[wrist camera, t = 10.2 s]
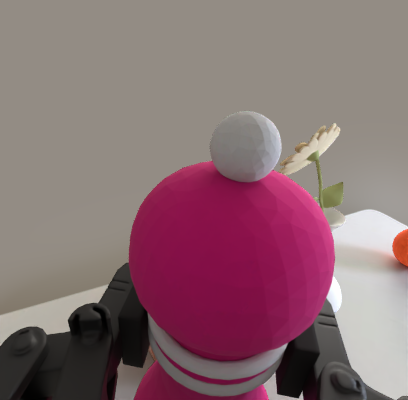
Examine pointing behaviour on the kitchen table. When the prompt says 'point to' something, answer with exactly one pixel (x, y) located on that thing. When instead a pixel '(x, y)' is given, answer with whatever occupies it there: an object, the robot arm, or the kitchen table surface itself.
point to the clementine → (401, 247)
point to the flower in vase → (328, 195)
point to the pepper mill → (228, 267)
